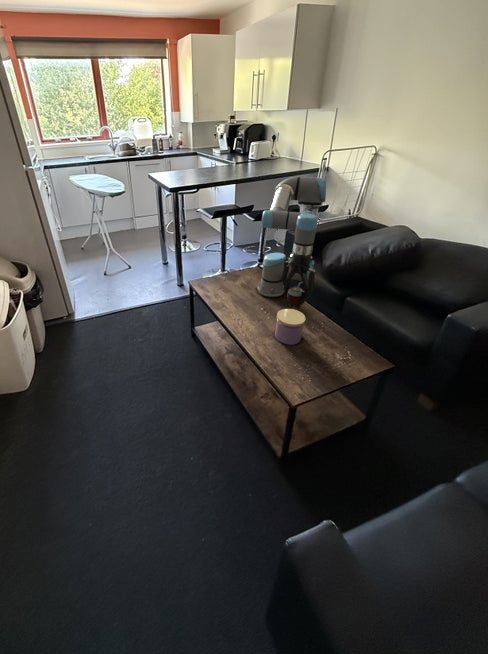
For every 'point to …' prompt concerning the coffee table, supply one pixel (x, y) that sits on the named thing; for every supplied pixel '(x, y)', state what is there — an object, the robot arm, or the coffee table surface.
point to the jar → (289, 326)
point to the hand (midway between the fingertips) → (294, 300)
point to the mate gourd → (294, 296)
